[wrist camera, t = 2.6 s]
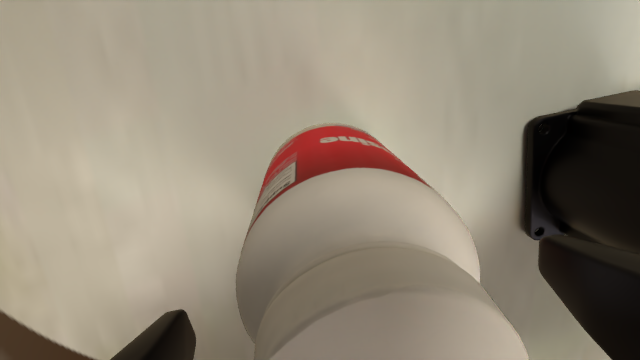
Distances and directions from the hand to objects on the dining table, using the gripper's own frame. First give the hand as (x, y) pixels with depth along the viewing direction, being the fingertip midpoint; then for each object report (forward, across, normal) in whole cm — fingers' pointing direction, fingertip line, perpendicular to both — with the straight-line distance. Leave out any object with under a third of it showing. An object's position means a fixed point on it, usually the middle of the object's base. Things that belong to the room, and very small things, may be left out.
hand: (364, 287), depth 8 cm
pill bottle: (+8, 0, 0) cm, 8 cm away
